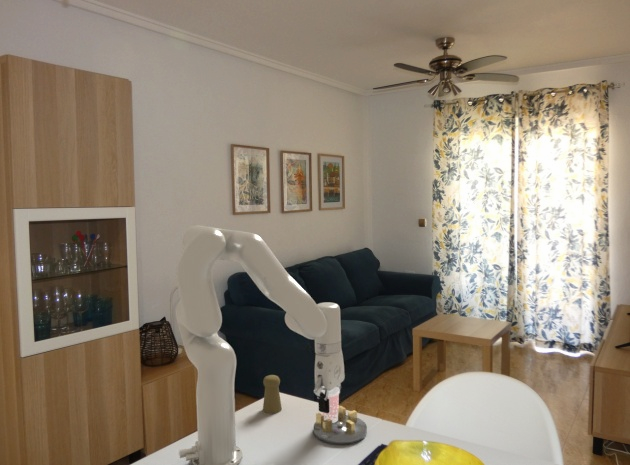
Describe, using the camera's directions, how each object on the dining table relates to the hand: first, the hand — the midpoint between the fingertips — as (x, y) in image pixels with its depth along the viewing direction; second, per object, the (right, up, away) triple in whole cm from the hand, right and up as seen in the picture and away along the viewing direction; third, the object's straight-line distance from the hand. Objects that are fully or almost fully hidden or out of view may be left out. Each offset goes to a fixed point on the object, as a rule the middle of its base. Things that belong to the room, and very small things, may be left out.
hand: (329, 406), depth 146 cm
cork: (-18, -6, +13) cm, 23 cm away
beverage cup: (0, -4, +1) cm, 4 cm away
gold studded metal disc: (+3, -6, -2) cm, 7 cm away
